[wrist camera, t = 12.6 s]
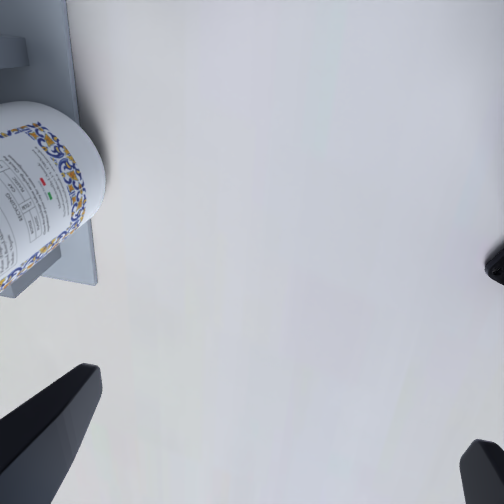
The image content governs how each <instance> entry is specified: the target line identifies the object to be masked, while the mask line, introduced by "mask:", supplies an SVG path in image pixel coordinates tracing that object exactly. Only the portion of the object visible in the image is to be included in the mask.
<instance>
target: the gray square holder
mask: <svg viewBox="0 0 504 504" xmlns="http://www.w3.org/2000/svg"><path fill="white" fill-rule="evenodd" d="M14 101H31V102H37V103H41V104H44V105H47V106H49V107H52V108H54V109H56V110H58V111H60V112H62V113H63V114H65V115H66V116H68V117H69V118H70V119H72V120H73V121H74V122H75V123H76V124H77V125H79V126H80V122H79V113H78V105H77V96H76V87H75V78H74V69H73V60H72V51H71V43H70V34H69V25H68V16H67V7H66V0H0V104H3V103H8V102H14ZM39 276H43V277H49V278H54V279H60V280H65V281H70V282H76V283H81V284H87V285H92V286H95V285H96V284H97V283H98V282H97V273H96V264H95V255H94V246H93V237H92V229H91V220H90V219H89V220H88V221H86V222H85V223H84V224H83V225H82V226H80V227H79V228H78V229H77V230H76V231H75V232H74V233H72V234H71V235H70V236H69V237H68V238H66V239H65V240H64V241H63V242H62V243H60V244H59V245H58V246H57V247H55V248H54V249H53V250H52V251H51V252H49V253H48V254H47V255H46V256H45V257H43V258H42V259H41V260H40V261H38V262H37V263H36V264H35V265H34V266H32V267H31V268H30V269H29V270H28V271H26V272H25V273H24V274H23V275H21V276H20V277H19V278H18V279H17V280H15V281H14V282H13V283H12V284H11V285H9V286H8V287H7V288H6V289H4V290H3V291H2V292H1V293H0V296H4V297H9V298H16V297H17V296H18V295H19V294H20V293H21V292H22V291H24V290H25V289H26V288H27V287H28V286H29V285H30V284H31V283H33V282H34V281H35V280H36V279H37V278H38V277H39Z"/></svg>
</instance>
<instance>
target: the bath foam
mask: <svg viewBox="0 0 504 504" xmlns="http://www.w3.org/2000/svg"><path fill="white" fill-rule="evenodd" d="M105 185H106V177H105V170H104V166H103V163H102V160H101V157H100V155H99V153H98V151H97V149H96V147H95V145H94V144H93V142H92V141H91V139H90V138H89V137H88V135H87V134H86V133H85V132H84V131H83V129H82V128H81V127H80V126H79V125H77V124H76V123H75V122H74V121H73V120H72V119H70V118H69V117H68V116H66V115H65V114H63V113H62V112H60V111H58V110H56V109H54V108H52V107H49V106H47V105H44V104H41V103H37V102H31V101H14V102H8V103H3V104H0V293H1V292H2V291H3V290H4V289H6V288H7V287H8V286H9V285H11V284H12V283H13V282H14V281H15V280H17V279H18V278H19V277H20V276H21V275H23V274H24V273H25V272H26V271H28V270H29V269H30V268H31V267H32V266H34V265H35V264H36V263H37V262H38V261H40V260H41V259H42V258H43V257H45V256H46V255H47V254H48V253H49V252H51V251H52V250H53V249H54V248H55V247H57V246H58V245H59V244H60V243H62V242H63V241H64V240H65V239H66V238H68V237H69V236H70V235H71V234H72V233H74V232H75V231H76V230H77V229H78V228H79V227H80V226H82V225H83V224H84V223H85V222H86V221H88V220H89V219H90V218H91V217H92V216H93V215H94V214H95V213H96V212H97V210H98V209H99V207H100V206H101V204H102V201H103V198H104V193H105Z"/></svg>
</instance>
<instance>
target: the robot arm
mask: <svg viewBox="0 0 504 504" xmlns="http://www.w3.org/2000/svg"><path fill="white" fill-rule="evenodd" d="M496 268H499V270H497V271H495V272H493V271H494V269H496ZM485 272H486V274H487V275H488V276H489V277H490V278H491V279H493V280H495V281H497V282H498V283H500V284H502V285H504V249H503V250H502V251H501V252H500V253H498V254H497V255H496V256H495V257H494V258H493V259H492V260H491V261H490V262H489V263H488V264H487V265H486V266H485ZM101 394H102V380H101V372H100V368H99V367H98V366H97V365H92V364H87V363H82V364H80V365H78V366H77V367H75V368H74V369H72V370H71V371H69V372H68V373H66V374H65V375H64V376H62V377H61V378H59V379H58V380H56V381H55V382H53V383H52V384H51V385H49V386H48V387H46V388H45V389H43V390H42V391H40V392H39V393H38V394H36V395H35V396H33V397H32V398H30V399H29V400H28V401H26V402H25V403H23V404H22V405H20V406H19V407H17V408H16V409H15V410H13V411H12V412H10V413H9V414H7V415H6V416H4V417H3V418H2V419H0V504H51V502H52V500H53V498H54V496H55V495H56V493H57V491H58V489H59V487H60V485H61V484H62V482H63V480H64V478H65V476H66V474H67V472H68V471H69V469H70V467H71V465H72V463H73V461H74V459H75V456H76V454H77V452H78V450H79V447H80V445H81V443H82V440H83V438H84V435H85V433H86V431H87V428H88V426H89V424H90V421H91V419H92V416H93V414H94V412H95V409H96V407H97V405H98V402H99V400H100V397H101ZM460 473H461V479H462V484H463V490H464V496H465V501H466V504H504V451H503V450H502V448H501V447H500V446H499V445H497V444H496V443H494V442H491V441H486V440H481V439H476V440H474V441H473V442H472V443H471V445H470V446H469V447H468V449H467V450H466V451H465V453H464V454H463V455H462V457H461V459H460Z"/></svg>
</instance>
